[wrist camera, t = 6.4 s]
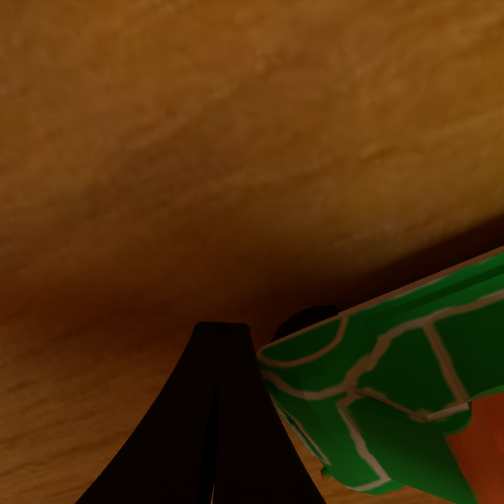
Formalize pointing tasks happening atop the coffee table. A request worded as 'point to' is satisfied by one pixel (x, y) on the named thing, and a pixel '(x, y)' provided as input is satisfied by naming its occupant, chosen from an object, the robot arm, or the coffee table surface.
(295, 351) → the toy car
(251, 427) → the robot arm
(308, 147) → the coffee table surface
